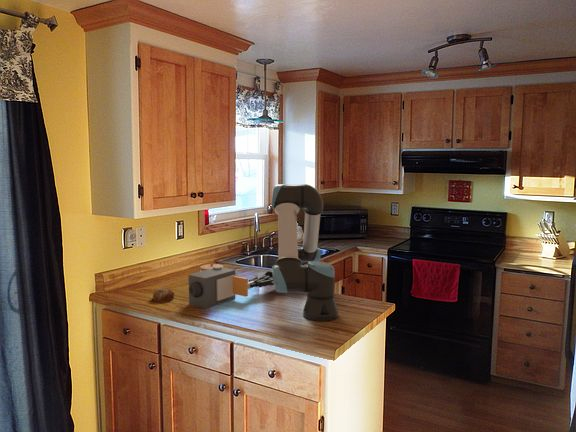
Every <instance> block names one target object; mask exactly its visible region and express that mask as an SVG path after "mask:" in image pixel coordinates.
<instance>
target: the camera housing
mask: <svg viewBox="0 0 576 432" xmlns="http://www.w3.org/2000/svg"><path fill="white" fill-rule="evenodd" d="M231 275H235V276H236V269H232V268H227V267H226V268H225V267H224V268H222V267H219V266H216V267H213V268H212V269H208V270H204V271H201V272H200V271H198V272H194V273H190V274H188V275H187V276H188V305H190V304H191V305H190V306H195V307H197V308H198V307H200V308H202V309H209V308H212V307H214V306H217V305H219V304H223V303H227V302H228V301H230V300H231V301H232V300H234V299H236V294H235V295H234V296H231V297H228V298H225V299H222V300H220V301H217V285H216V280H217V279H221V278H224V277H227V276H231Z"/></svg>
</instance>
